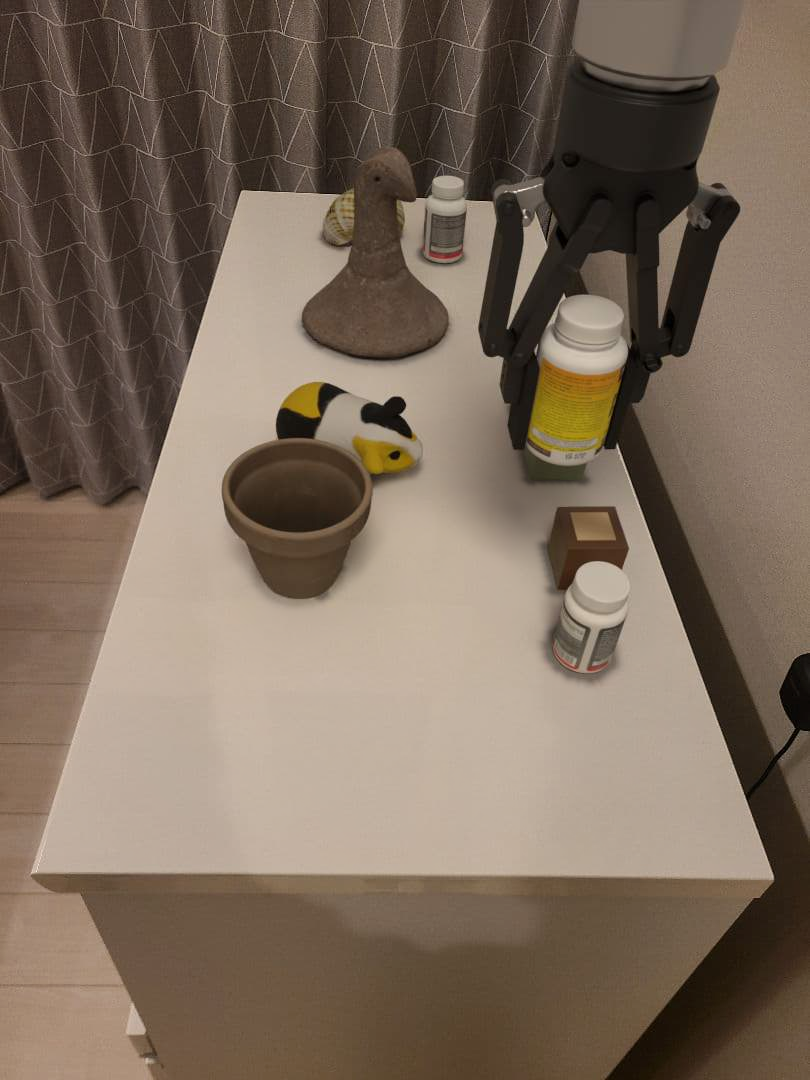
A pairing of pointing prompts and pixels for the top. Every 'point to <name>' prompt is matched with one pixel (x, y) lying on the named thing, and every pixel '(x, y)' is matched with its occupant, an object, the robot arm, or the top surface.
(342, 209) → the seashell
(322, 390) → the figurine
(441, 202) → the pill bottle
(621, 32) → the robot arm
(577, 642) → the pill bottle
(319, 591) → the flower pot
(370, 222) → the sculpture
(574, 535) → the block near
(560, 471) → the block far
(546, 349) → the supplement bottle
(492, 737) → the top surface
